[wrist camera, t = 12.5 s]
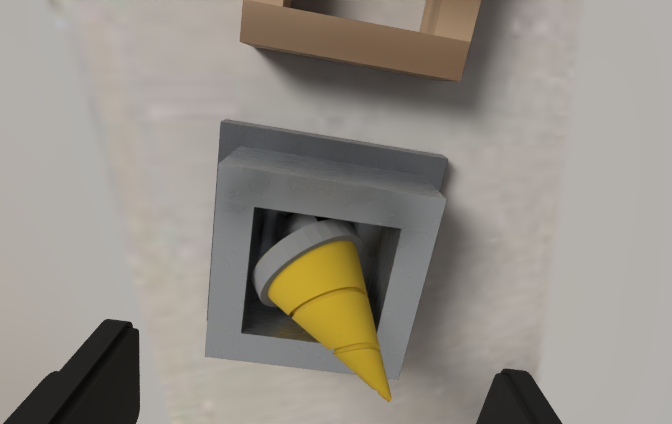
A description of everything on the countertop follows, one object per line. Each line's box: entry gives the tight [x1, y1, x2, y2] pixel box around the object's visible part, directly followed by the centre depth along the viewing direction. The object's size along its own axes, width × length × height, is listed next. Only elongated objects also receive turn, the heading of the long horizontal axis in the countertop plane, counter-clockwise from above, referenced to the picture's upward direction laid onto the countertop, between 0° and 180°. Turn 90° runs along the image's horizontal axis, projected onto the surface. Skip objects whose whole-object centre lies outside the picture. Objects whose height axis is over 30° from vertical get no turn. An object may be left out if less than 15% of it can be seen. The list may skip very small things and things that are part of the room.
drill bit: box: [251, 213, 392, 402], centre depth 18 cm, size 5×5×10 cm
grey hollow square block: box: [205, 119, 448, 380], centre depth 19 cm, size 11×11×5 cm
